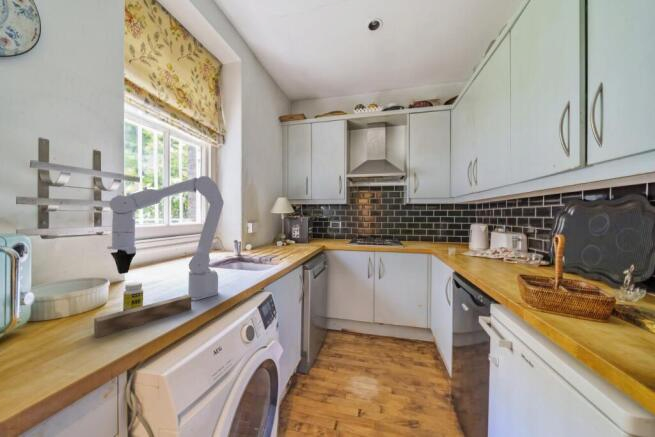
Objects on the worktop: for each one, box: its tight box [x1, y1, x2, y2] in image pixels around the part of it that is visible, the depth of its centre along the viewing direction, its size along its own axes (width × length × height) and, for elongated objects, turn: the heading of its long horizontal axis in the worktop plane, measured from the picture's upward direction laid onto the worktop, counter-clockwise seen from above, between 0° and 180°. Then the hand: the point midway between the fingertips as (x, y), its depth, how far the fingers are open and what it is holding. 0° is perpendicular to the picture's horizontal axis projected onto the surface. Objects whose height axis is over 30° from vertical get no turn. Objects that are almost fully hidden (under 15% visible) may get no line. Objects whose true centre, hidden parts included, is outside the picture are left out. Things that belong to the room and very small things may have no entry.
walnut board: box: [93, 294, 192, 339], centre depth 67 cm, size 22×3×4 cm, turn 147°
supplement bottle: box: [122, 281, 144, 311], centre depth 73 cm, size 5×5×8 cm
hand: (123, 273), depth 78 cm, fingers closed
